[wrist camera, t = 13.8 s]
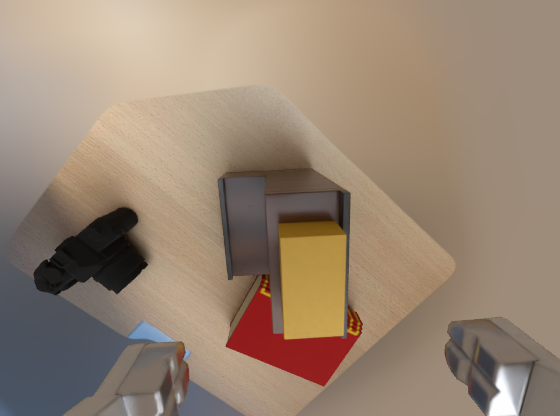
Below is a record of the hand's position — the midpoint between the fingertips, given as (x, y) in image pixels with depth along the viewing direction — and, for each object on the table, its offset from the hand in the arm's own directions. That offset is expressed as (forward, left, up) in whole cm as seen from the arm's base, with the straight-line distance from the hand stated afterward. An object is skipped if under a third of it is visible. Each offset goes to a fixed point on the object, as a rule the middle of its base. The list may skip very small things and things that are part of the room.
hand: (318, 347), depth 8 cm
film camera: (+10, -26, -33) cm, 43 cm away
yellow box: (+5, +2, -15) cm, 16 cm away
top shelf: (+5, +2, -16) cm, 17 cm away
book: (+24, +1, -33) cm, 41 cm away
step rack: (+5, -1, -33) cm, 33 cm away
